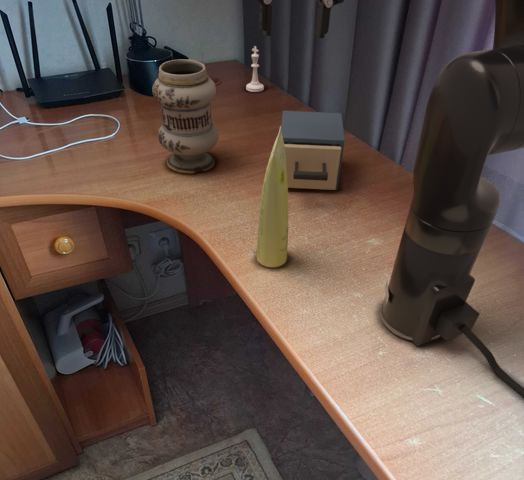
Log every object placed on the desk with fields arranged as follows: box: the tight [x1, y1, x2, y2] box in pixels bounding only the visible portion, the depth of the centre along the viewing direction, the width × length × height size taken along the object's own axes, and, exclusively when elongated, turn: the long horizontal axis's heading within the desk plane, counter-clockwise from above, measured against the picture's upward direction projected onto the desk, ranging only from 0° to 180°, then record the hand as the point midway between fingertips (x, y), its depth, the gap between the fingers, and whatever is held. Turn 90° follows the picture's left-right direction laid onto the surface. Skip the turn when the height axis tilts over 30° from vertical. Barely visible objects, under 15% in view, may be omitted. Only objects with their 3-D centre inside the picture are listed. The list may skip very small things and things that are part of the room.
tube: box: [256, 125, 289, 268], centre depth 68 cm, size 6×5×20 cm
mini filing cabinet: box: [280, 110, 346, 191], centre depth 92 cm, size 13×12×10 cm
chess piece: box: [245, 45, 265, 93], centre depth 124 cm, size 5×5×10 cm
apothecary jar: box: [151, 58, 220, 175], centre depth 91 cm, size 12×12×18 cm
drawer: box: [284, 142, 341, 191], centre depth 89 cm, size 17×10×8 cm, turn 176°
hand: (293, 36), depth 72 cm, fingers open, 8 cm apart
